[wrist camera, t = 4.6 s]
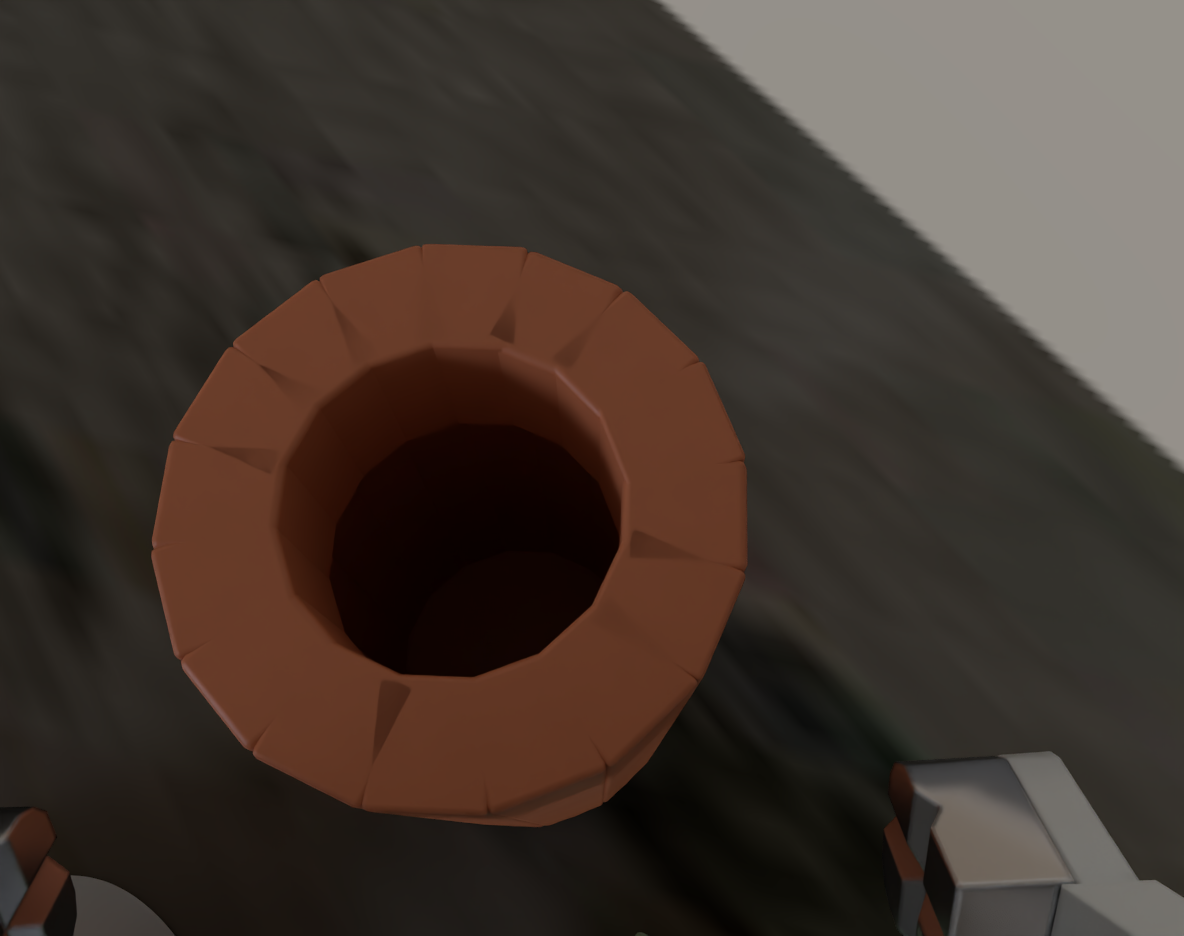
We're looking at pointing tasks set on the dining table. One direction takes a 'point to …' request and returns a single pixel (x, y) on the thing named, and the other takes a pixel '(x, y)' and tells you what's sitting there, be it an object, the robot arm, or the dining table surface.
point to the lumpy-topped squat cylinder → (112, 911)
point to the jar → (453, 535)
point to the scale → (640, 934)
